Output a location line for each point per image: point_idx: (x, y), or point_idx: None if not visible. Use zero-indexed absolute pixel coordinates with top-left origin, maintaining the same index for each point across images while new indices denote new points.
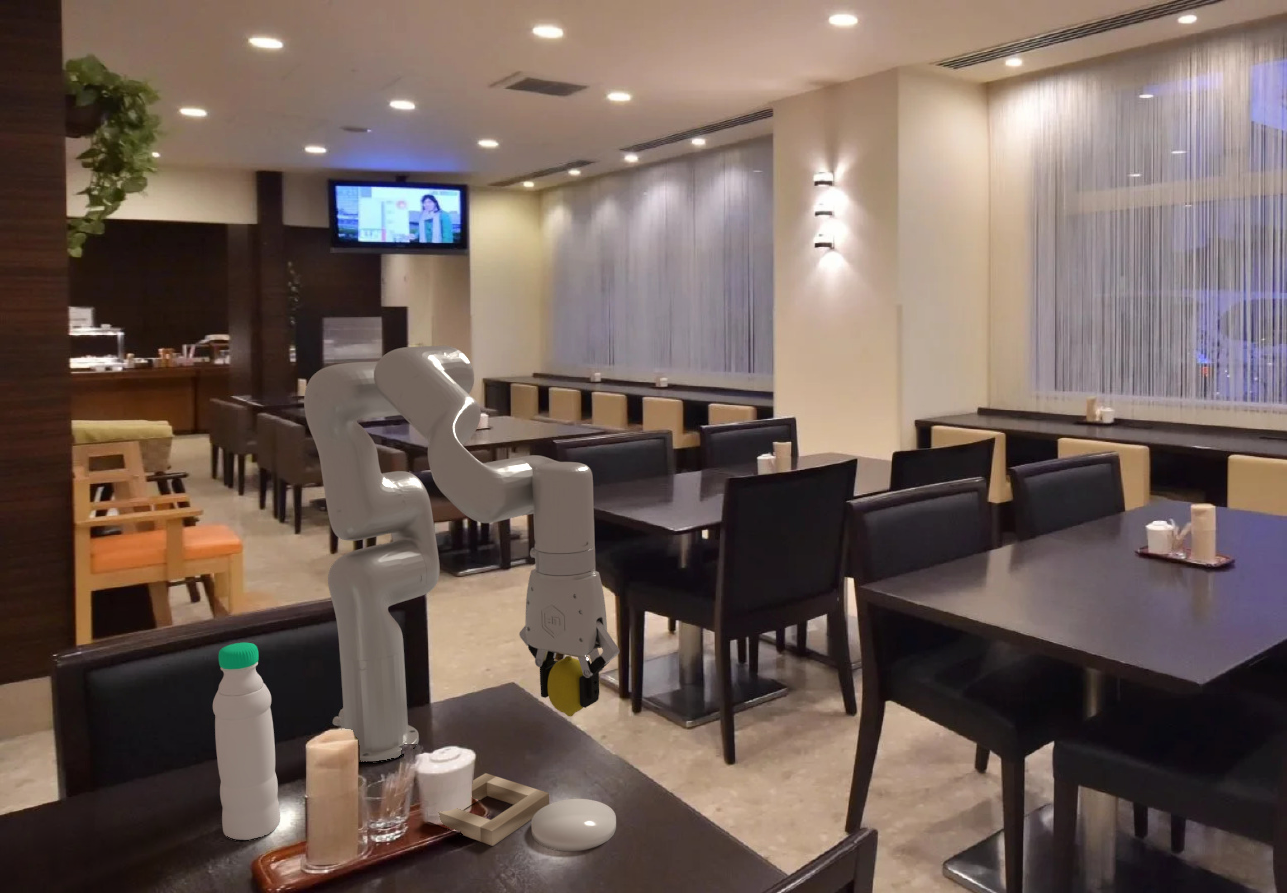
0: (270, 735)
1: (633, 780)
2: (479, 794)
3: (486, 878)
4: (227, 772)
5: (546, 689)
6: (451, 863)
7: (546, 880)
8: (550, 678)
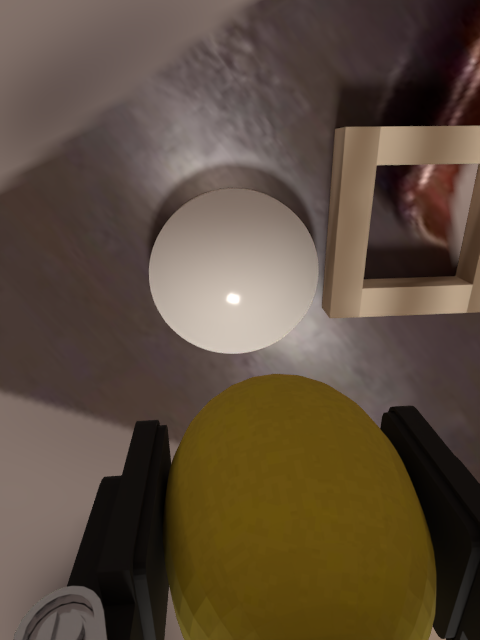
0: None
1: None
2: (467, 257)
3: (268, 11)
4: None
5: (401, 442)
6: (374, 16)
7: (153, 83)
8: (377, 482)
